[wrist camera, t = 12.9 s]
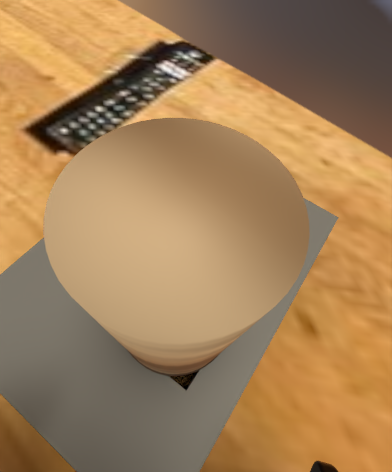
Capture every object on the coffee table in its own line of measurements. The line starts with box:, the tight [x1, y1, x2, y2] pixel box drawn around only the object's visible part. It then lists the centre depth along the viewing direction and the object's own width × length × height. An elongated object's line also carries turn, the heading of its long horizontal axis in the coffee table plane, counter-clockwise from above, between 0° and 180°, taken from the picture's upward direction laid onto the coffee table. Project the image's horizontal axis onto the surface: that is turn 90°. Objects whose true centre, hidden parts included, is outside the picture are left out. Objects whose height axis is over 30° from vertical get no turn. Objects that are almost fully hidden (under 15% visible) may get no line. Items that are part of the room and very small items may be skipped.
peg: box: [44, 118, 310, 376], centre depth 11 cm, size 6×6×12 cm
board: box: [0, 198, 338, 472], centre depth 17 cm, size 18×13×4 cm
